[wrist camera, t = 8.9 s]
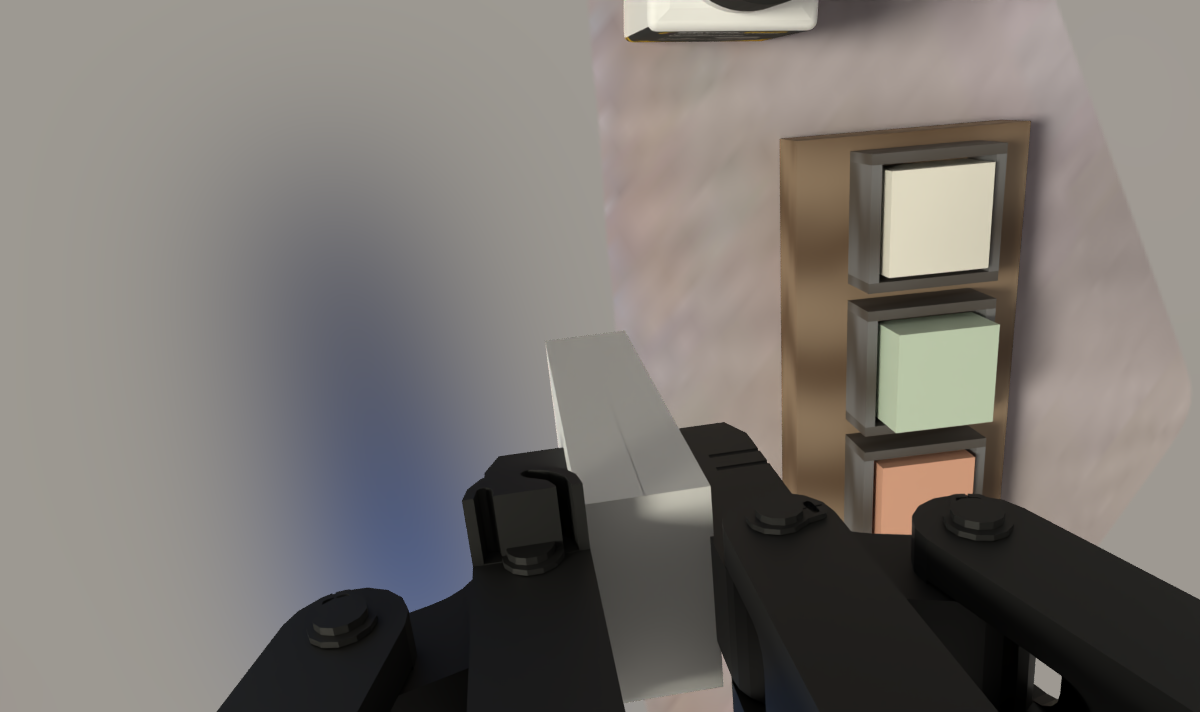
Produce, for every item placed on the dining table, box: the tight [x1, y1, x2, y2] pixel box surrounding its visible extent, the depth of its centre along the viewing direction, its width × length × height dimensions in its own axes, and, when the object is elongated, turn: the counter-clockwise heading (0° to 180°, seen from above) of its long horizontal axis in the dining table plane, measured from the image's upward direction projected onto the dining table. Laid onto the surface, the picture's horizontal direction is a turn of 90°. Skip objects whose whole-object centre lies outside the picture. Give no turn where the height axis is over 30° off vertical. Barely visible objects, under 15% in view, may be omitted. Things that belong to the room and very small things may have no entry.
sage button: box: [875, 312, 1000, 433], centre depth 41 cm, size 5×5×2 cm
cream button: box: [879, 159, 996, 278], centre depth 40 cm, size 5×5×2 cm
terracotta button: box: [872, 449, 975, 535], centre depth 45 cm, size 5×5×2 cm
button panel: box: [780, 120, 1031, 533], centre depth 44 cm, size 23×12×5 cm, turn 4°
